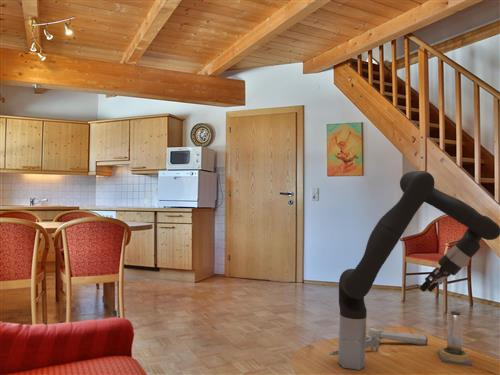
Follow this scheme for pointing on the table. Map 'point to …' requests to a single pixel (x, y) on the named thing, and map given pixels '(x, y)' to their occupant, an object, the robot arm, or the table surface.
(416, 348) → the table surface
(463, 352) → the ring block
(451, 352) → the grey bottle
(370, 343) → the caliper
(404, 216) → the robot arm
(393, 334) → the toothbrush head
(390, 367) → the table surface
